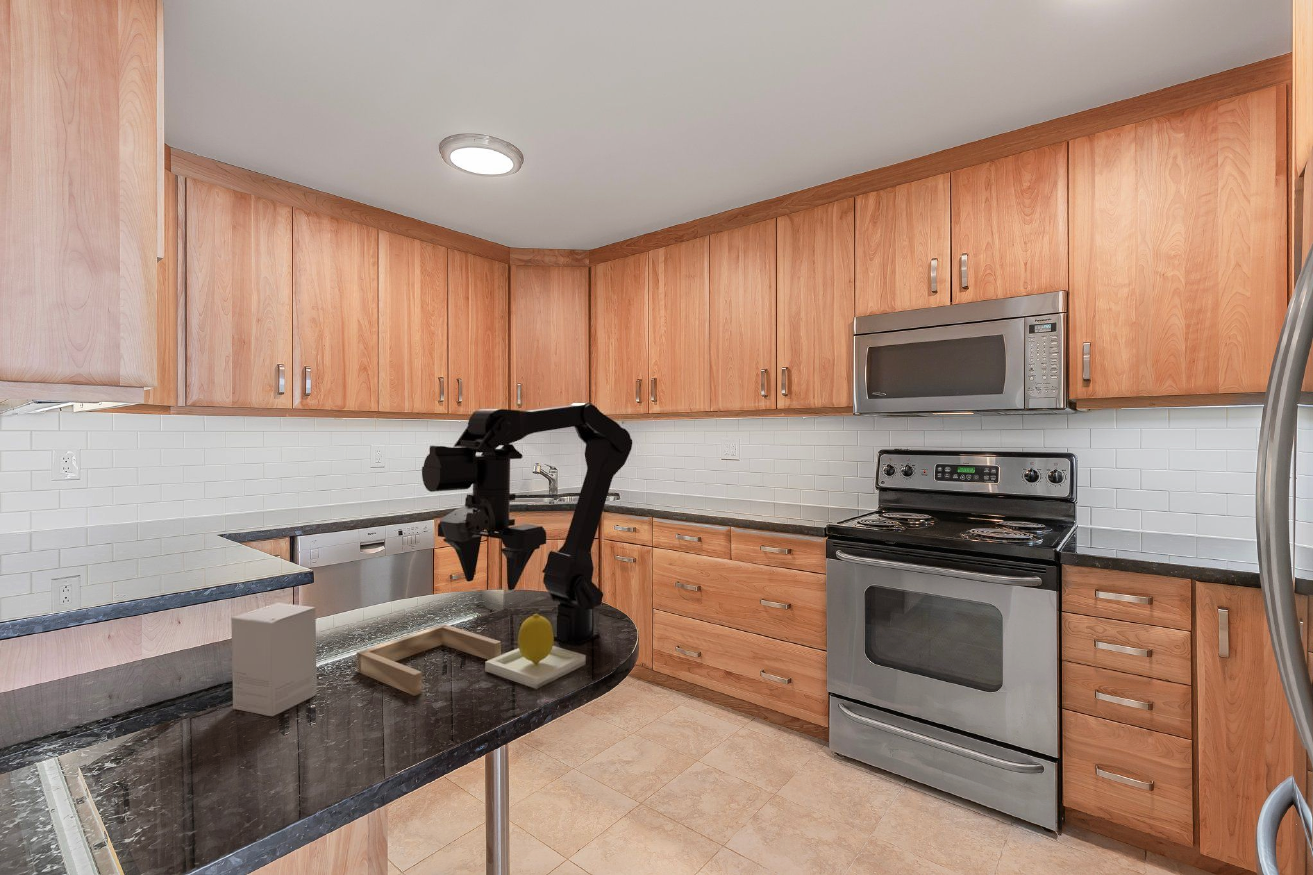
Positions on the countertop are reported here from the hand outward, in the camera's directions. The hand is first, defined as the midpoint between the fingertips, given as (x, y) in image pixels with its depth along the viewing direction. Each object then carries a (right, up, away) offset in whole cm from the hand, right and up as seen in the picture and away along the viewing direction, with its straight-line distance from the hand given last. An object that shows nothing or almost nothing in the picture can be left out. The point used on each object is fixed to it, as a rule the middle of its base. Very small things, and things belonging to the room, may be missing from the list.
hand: (490, 585), depth 99 cm
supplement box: (-26, -13, -13) cm, 32 cm away
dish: (+8, -13, -1) cm, 15 cm away
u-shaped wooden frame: (-9, -13, 0) cm, 16 cm away
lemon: (+7, -13, -1) cm, 15 cm away
